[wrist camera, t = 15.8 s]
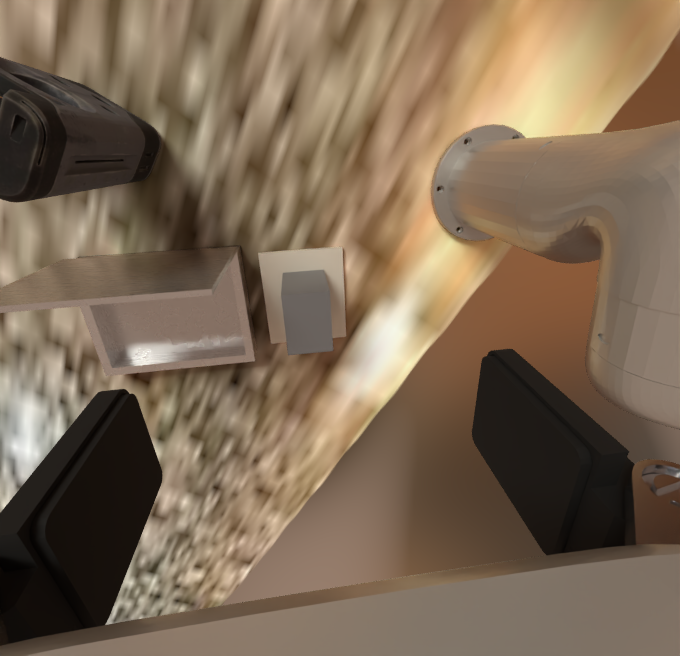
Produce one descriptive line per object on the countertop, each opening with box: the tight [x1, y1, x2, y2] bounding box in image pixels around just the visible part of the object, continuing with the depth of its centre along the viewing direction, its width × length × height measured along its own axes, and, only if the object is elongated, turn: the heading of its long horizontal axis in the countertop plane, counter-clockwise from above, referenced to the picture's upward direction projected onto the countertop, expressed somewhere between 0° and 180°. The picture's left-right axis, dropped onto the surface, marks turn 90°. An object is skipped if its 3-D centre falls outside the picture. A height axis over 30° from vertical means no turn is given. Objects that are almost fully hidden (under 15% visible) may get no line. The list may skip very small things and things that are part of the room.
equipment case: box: [0, 246, 257, 376], centre depth 38 cm, size 18×14×17 cm
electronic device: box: [0, 57, 161, 202], centre depth 28 cm, size 9×6×20 cm, turn 59°
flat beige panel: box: [258, 247, 346, 344], centre depth 47 cm, size 10×12×1 cm
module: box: [281, 270, 333, 355], centre depth 43 cm, size 5×7×8 cm
